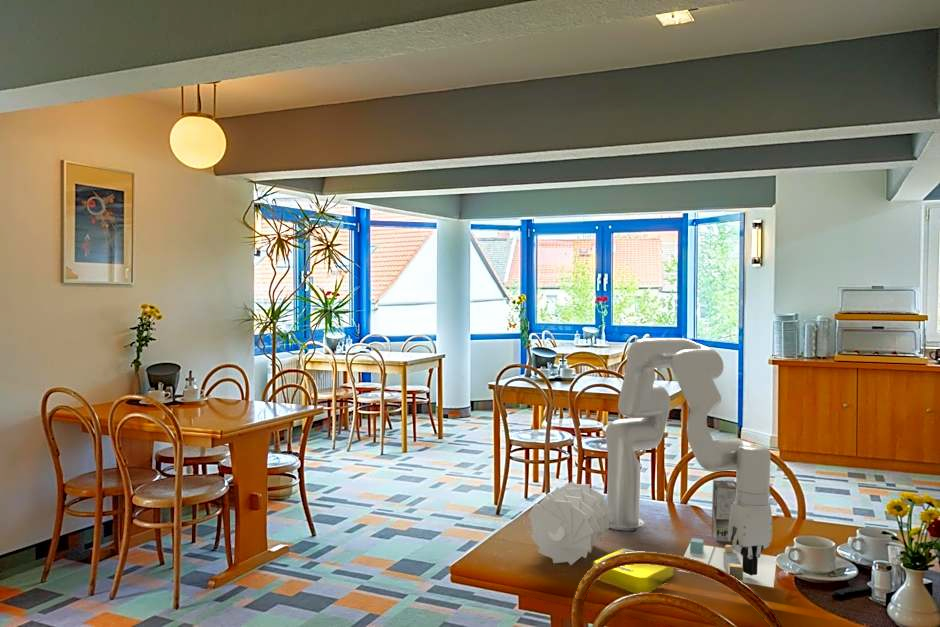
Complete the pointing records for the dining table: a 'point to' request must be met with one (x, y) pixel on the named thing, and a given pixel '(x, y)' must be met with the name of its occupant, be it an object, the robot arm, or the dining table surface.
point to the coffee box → (722, 508)
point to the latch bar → (733, 565)
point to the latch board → (715, 558)
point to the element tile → (636, 575)
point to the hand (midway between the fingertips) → (749, 573)
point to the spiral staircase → (569, 522)
